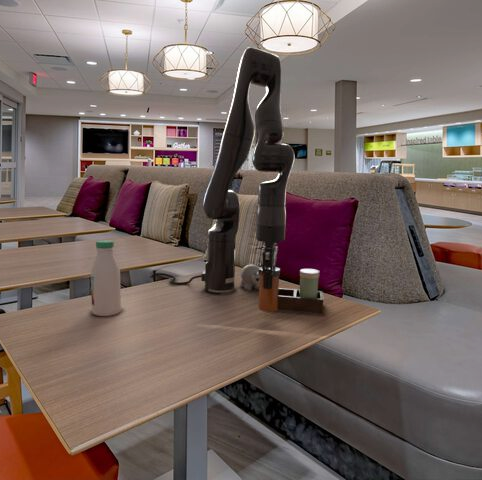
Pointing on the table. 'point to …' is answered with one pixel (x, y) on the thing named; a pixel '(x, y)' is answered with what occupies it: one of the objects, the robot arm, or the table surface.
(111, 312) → the milk bottle
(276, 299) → the amber jar
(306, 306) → the jar stand
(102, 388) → the table surface
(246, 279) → the chubby cartoon animal
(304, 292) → the green jar
